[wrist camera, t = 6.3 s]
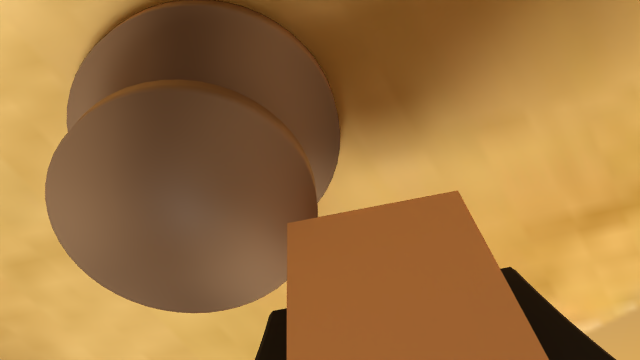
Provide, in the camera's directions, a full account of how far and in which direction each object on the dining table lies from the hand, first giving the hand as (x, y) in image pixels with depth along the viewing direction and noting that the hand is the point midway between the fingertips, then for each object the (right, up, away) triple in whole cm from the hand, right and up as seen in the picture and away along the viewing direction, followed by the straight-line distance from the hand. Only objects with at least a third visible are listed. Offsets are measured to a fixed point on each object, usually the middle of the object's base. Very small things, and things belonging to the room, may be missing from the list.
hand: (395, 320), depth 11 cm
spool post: (-6, +5, +7) cm, 10 cm away
